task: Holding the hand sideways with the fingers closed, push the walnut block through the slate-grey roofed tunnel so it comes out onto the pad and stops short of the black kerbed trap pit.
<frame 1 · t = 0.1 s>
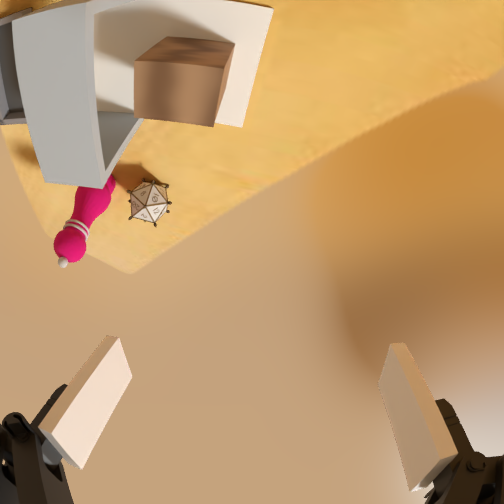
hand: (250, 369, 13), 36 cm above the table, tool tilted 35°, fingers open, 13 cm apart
tunnel: (116, 56, 30), on the table
game die: (155, 186, 52), on the table
pepper mill: (102, 179, 50), on the table
trap pit: (15, 67, 27), on the table
walnut block: (196, 61, 31), point 1 cm above the table, touching tunnel
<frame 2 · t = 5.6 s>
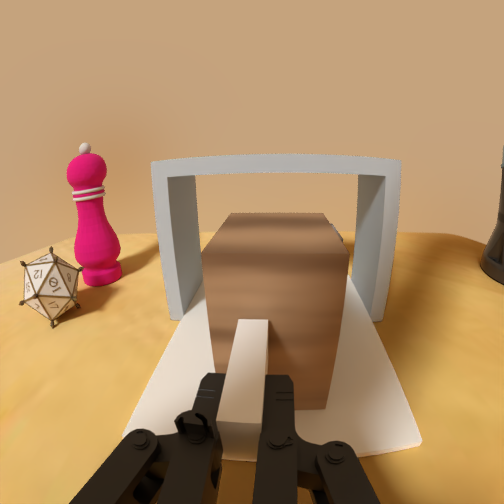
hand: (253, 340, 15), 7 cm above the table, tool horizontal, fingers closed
tunnel: (277, 301, 32), on the table
game die: (60, 316, 29), on the table
pepper mill: (103, 279, 39), on the table
walnut block: (275, 366, 21), point 1 cm above the table
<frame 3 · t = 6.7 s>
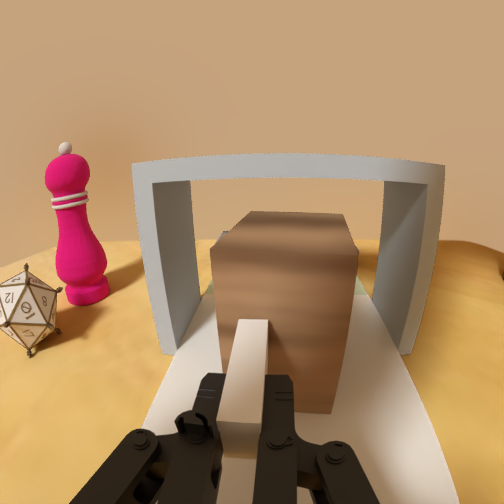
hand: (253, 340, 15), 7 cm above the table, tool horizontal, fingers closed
tunnel: (288, 330, 27), on the table
game die: (39, 343, 23), on the table
pepper mill: (89, 296, 34), on the table
walnut block: (286, 367, 21), point 1 cm above the table, touching tunnel
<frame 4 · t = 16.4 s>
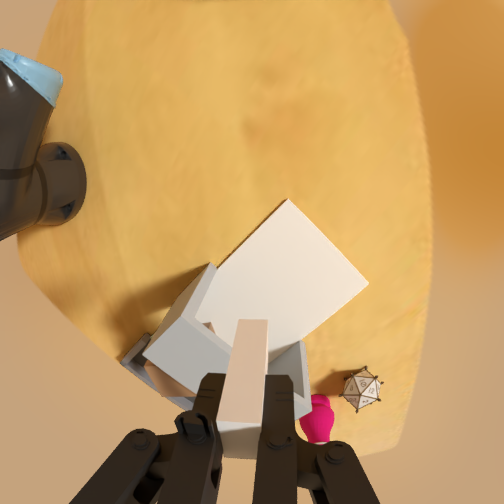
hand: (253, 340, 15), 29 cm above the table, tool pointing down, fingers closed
tunnel: (242, 321, 49), on the table
game die: (357, 375, 52), on the table
pepper mill: (315, 402, 55), on the table
trap pit: (175, 376, 55), on the table
walnut block: (194, 340, 51), point 1 cm above the table, touching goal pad, tunnel
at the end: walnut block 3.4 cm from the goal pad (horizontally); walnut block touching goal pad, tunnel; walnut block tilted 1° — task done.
